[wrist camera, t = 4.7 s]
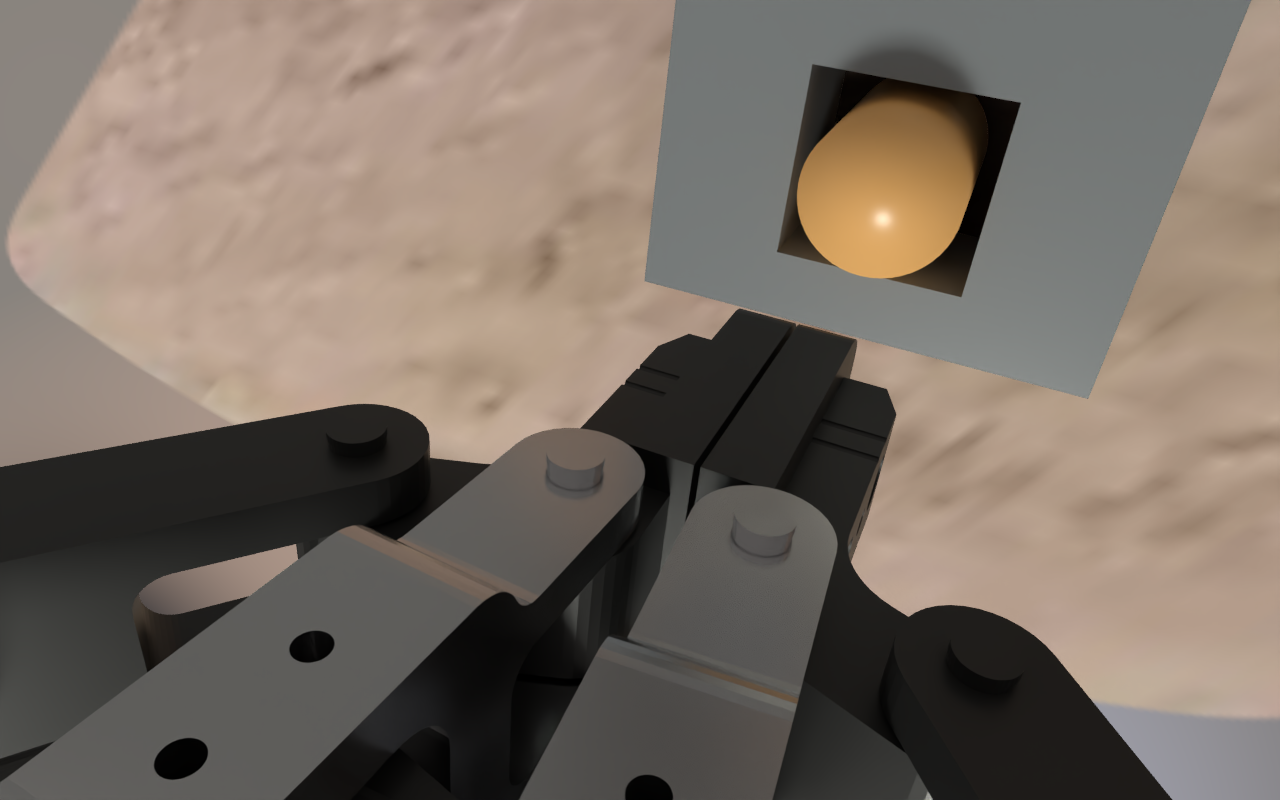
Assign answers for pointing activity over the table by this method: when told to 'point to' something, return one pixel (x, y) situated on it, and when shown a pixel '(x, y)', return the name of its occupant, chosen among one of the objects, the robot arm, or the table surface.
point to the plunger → (893, 178)
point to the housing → (1023, 194)
